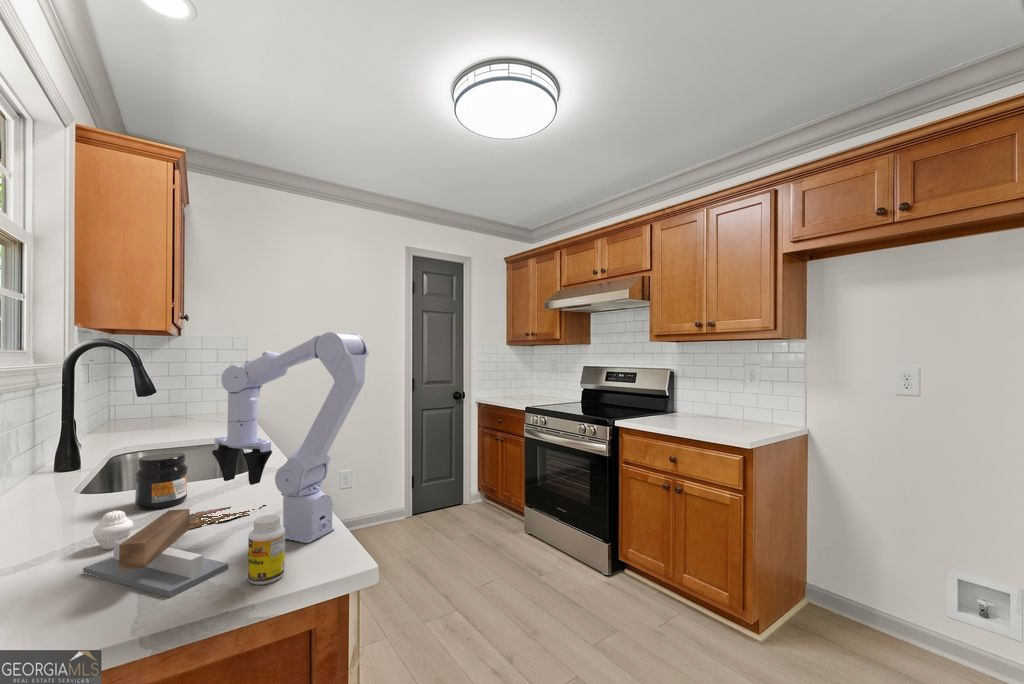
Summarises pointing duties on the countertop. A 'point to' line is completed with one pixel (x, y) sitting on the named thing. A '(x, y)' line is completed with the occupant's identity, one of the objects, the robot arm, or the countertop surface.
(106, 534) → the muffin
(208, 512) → the fossil skeleton slab
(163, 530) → the walnut batten
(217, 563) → the balance stand
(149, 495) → the supplement container
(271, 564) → the supplement bottle
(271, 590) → the countertop surface
